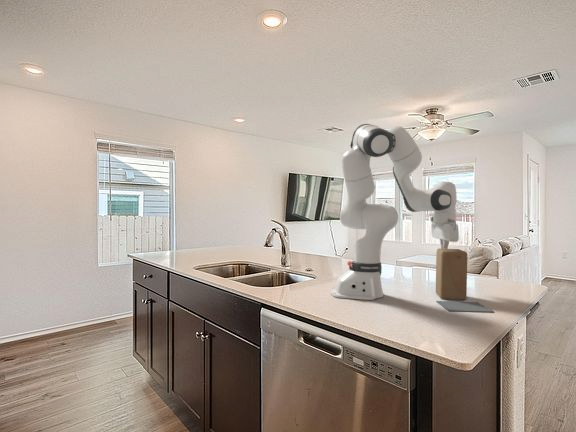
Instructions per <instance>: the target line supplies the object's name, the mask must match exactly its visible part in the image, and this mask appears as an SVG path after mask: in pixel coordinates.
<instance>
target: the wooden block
mask: <svg viewBox="0 0 576 432" xmlns="http://www.w3.org/2000/svg"><path fill="white" fill-rule="evenodd" d="M467 287H468V252H467V251H464V250H462V249H459V248H448V249H441V248H437V249H436V261H435V293H436V294H437V296H439V298H440V299H442V300H450V301H451V300H452V301H465V300H467V295H468V294H467V291H468V289H467Z"/></svg>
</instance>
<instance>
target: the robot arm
mask: <svg viewBox="0 0 576 432" xmlns="http://www.w3.org/2000/svg"><path fill="white" fill-rule="evenodd" d="M349 146H350V149H348V150H347V151H345V152H344V153H343V154H342V156H341V166H342V174H343V179H344V182H345V186H346V187H345V188H346V193H347V201H346V203H345V205H344V206H343V207H342V208H341V209H340V212H339V220H340V222H341V225H342V226H343V227H346V228H349V229H354V230H365V235H364V236H363V237H362V238H361V237H360V239H358V240H357V241H355V243H354V247H353V249H354V251H353V255H354V256H353V261H351V260H348V261H347V265H348V268H349V269H348V270H347V271H346V272H344V273H342V274H341V275H340V276H339V277H337V279H336V283H335V287H332V288H331V289H330V294H331V296H332V297H335V298H338V299H340V298H341V299H352V300H355V299H356V300H365V301H373V300H375V299H379V298H382V297H384V290H383V287H382V277H381V276H382V268H383V267H382V262H381V254H382V253H381V252H382V244H383V241H384V239H385V237H386V235H387V234H388V233H389V232H390V231H391V230H393V229H394V228H395V227H396V225H397V224H398V221H399V214H398V211H397V210H396V208H395V206H392V205H388V204H382V203H381V204H380V203H379V204H378V203H375V204H374V203H370V204H369V203H367V199H369V198H370V197H372V195H373V194H374V193H375V189H376V186H375V183H374V177H373V173H372V170H371V169H372V168H371V166H370V161H371V159H372V157H374V158H379V157H382V156H385V155H388V156H389V158H390V160H391V162H392V163H393V167H392V173H393V176H394V179H395V182H396V184H397V186H398V188H399V191H400V193H401V195H402V198H403V202H404V206H405V208H406V209H407V210H408V211H410V212H413V213H417V212H433V215H432V216H431V217H430V222H431V225H430V227H431V228H430V229H431V237H432V238H434V239H439V244H440V249H449V248H448V247H449V244H450V242H453V243H458V242H459V239H460V237H459V236H460V235H459V231H460V230H459V224H457V209H456V205H457V200H458V199H457V188H456V185H455V184H454V183H453V182H449V181H438V182H436V185H435V186H433V187H431V188H427V189H420V188H419V189H418V188H415V187H414V184H413V182H412V179H411V177H410V174H411V173H413V172H414V171H415V170H417V169H418V168H419V166H420V165H421V162H422V158H423V156H422V152H421V149H420V148H419V146H418V144H417V143H416V141H415V140H414V138H413V137H412V136H411V134H410V133H409V132H408V131H407V130H406V129H405V127H403V126H397V125H396V126H394V127H390V128H389V129H388V130H386V129H385V128H382V127H379V126H378V125H375V124H372V123H371V124H370V123H364V124H360V125H358V126H357V127H356V128H355V129H354V131H353V133H352V137H351V142H350V145H349Z"/></svg>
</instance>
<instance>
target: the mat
mask: <svg viewBox="0 0 576 432" xmlns="http://www.w3.org/2000/svg"><path fill="white" fill-rule="evenodd" d="M435 302H436V303H437V304H438V305H440V306H441V307H442V308H444V309H445V310H447V311H448V312H460V313H461V312H462V313H464V312H465V313H492V314H494V313H495V311H494V310H492V309H491V308H489V307H487V306H485V305H483V304H481V303H480V302H478V301H462V300H452V301H451V300H450V301H449V300H436V301H435Z"/></svg>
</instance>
